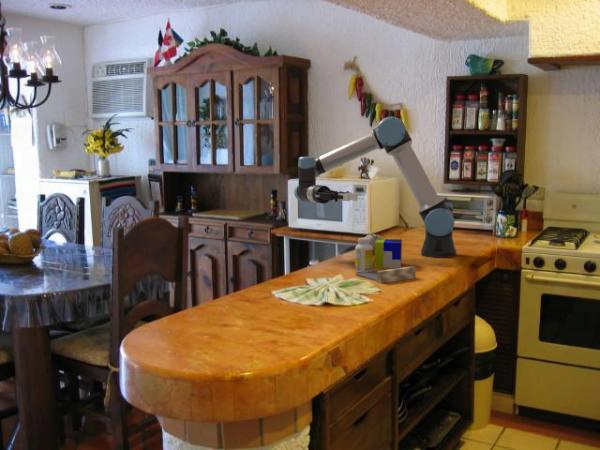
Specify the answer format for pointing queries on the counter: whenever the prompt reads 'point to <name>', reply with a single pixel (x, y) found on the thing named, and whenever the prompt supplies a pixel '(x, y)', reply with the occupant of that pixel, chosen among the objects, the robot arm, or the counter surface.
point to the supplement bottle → (364, 256)
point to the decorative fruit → (373, 240)
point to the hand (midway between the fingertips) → (352, 197)
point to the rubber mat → (369, 275)
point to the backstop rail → (395, 274)
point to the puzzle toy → (388, 253)
